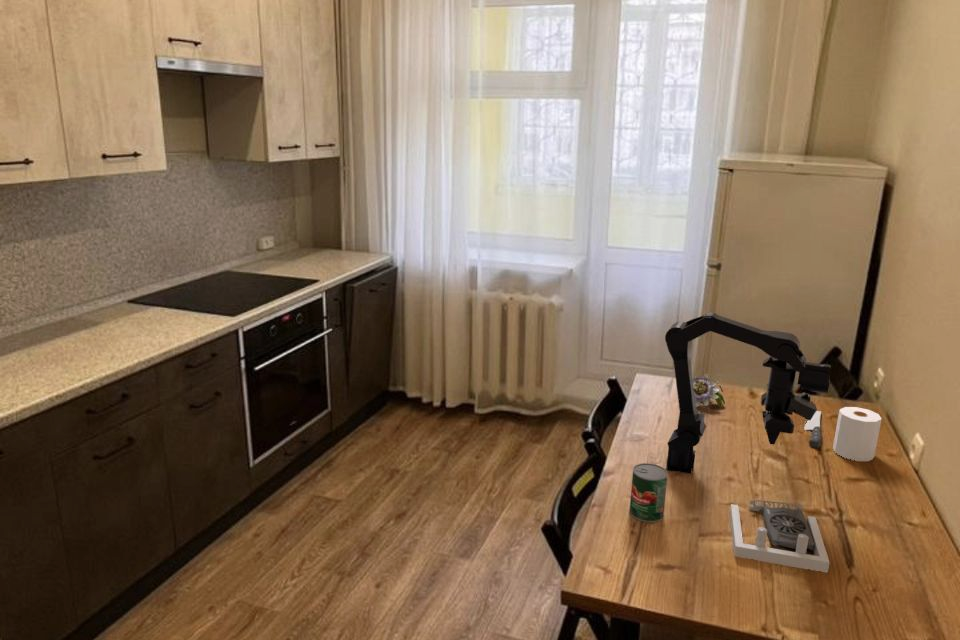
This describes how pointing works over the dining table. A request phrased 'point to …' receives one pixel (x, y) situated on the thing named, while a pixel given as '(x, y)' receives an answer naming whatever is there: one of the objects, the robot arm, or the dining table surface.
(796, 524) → the graphics card
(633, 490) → the canned tomato
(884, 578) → the dining table surface
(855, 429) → the toilet paper
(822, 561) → the u-shaped peg rack
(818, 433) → the kitchen knife
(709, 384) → the passion flower
